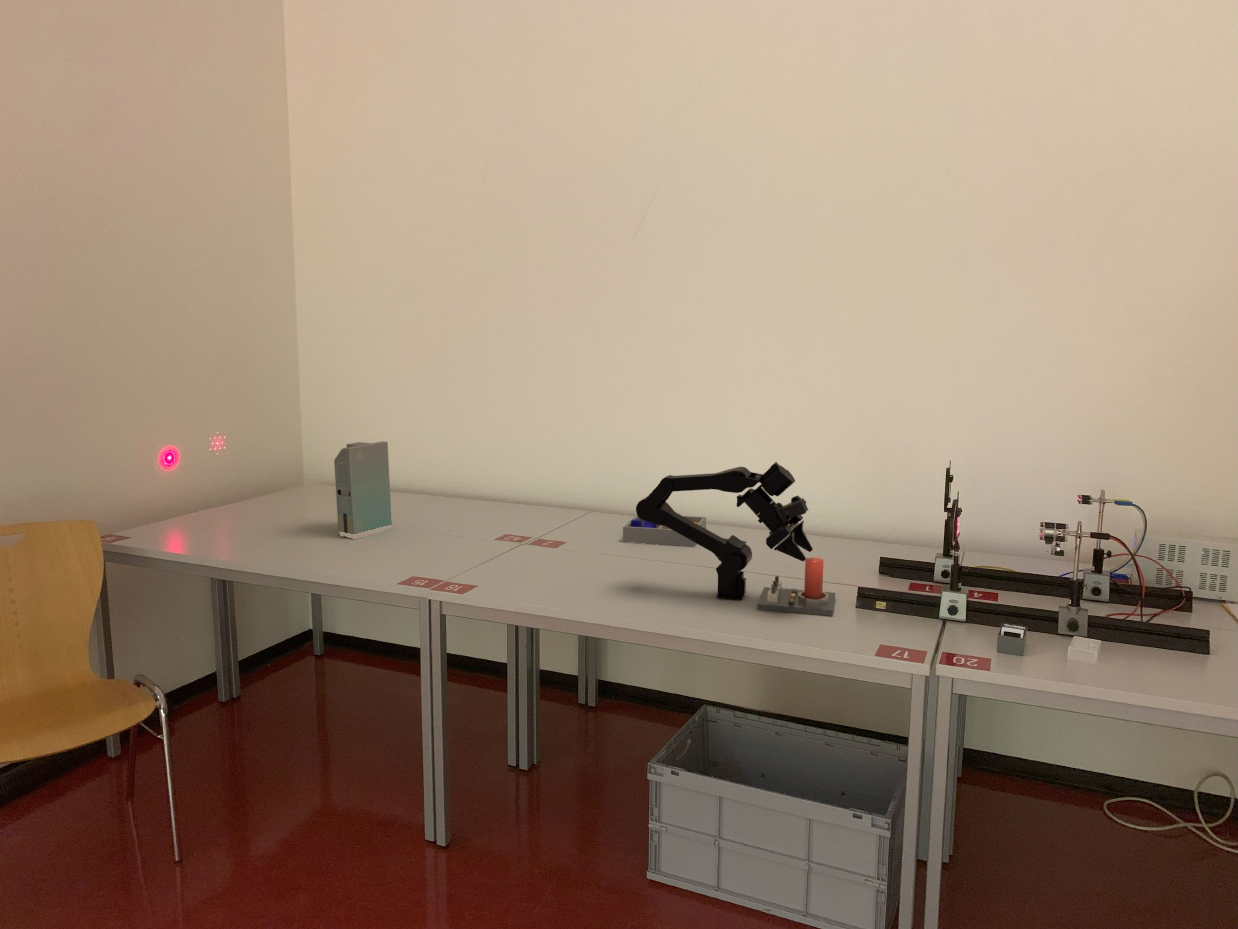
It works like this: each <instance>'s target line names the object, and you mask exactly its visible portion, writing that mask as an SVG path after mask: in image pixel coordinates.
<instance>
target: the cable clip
mask: <svg viewBox="0 0 1238 929" xmlns="http://www.w3.org/2000/svg"><path fill="white" fill-rule="evenodd" d="M632 519H633V518H632ZM632 519H631V520H630V521H631V527H642V521H641V520H634V519H633V520H632ZM643 527H644V528H656V524H652V523H649V522H646V521H645V523H644V526H643Z"/></svg>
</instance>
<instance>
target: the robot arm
mask: <svg viewBox="0 0 1238 929" xmlns="http://www.w3.org/2000/svg"><path fill="white" fill-rule="evenodd" d="M795 482H796V479H795V478H794V475H793V474H792V473H791V472H790V471H789V469H786V468H785V467H783V465H780V464H779V463H778V462H777V461H775V462H774V463H773V464H772V465H771V466H770V467H769V468H768V469H767V470H766V471H765V472H764V473H759V472H753V471H750V470H749V469H748V468H747V467H745V466H737V467H732V468H729V469H725V470H722V471H719V472H713V473H701V474H700V473H699V474H683V475H672V474H669V475H666V476H665V477H663V478H662V479H661V480H660V482H659V483H658V484H657V485H656V487H655V488H654V489H653V490H652V491H651V492H650V493H649V494H648V496H646V497H644V498H642V499H640V500H639V501H638V502H637V504H636V507H635V512H636V516H638V517H639V518H640V519H641V520H643V521H646V522H649V523H652V524H656V525H662V526H666V527H668V528H670V529H671V530H673V531H675V532H677V533H679V534H680V535H682V536H684V537H686V538H688V539H689V540H691V541H693V542H695V543H696V545H697V546H700V547H702V548H704V549H706V550H707V551H709V552H711V553H713V554H714V556H715V557H716V558H717V559H718V560H719V562H720V564H718V566H716V568H715V571H716V573H717V593H716V596H715V598H716V599H720V600H721V599H723V600H736V601H742V599H743V598H744V596H745V595H746V593H747V591H746V590H747V588H746V587H747V578H746V577H744V576H745V571H742V570H744V569H746V567H747V566H748V564H749V563H750V562H751V561H752V559H753V551H752V548H751V547H750V546H749V545H748V544H747V541H744V540H742V539H740V538H738V537H737V536H735V535H733V534H732V535H730V537H729V538H726V537H721V536H720V535H718V534H716V533H714V532H712V531H710V530H708V529H707V528H706V529H705V528H703V527H701V526H700V525H698V524H696V523H694V522H692V521H691V520H689V519H687V518H685V517H683V516H684V515H682V514H680V513H678V512H676V511H675V510H674V509H673V508H672V507H671V505H670V504H669V503H668V502H667V500H668V499H669V498H670V497H671V495H672V493H673V492H688V491H691V492H692V491H704V490H705V491H706V490H716V491H721V492H725V493H726V492H727V493H733V494H738V495H737V496H736V507H737V508H740V507H742V505H743V504H745V505H746V506H747V507H748V508H749V509H750V511H751V512H752V513H754V515H755V516H756V517H757V518H758V520H757V522H758V523H759V524H762V523H763V525H764V526H765V527H766V528H767V529H768V530H769V532H768V534H769V535H768V536H767V537H766V538H765V545H766V546H767V547H768V548H769V549H770V550H774V551H777V552H780V553H782V554H785V555H787V556H790V557H792V558H794V559H797V560H798V561H801V562H805V560H806V559H807V557H806V556H805V554H804V553H803V551H802V550H801V549H800V548H802V549H803V550H805V551H807V552H809V553H811V552H812V551H813V549H814V548H813V547H812V545H811V543H810V541H809V539H808V537H807V535H806V533H805V531H804V523H805V522H804V520H803V519H804V517H803V515H804V514H806V513H807V512H808V511H809V507H808V506H807V501H806V500H805V498H804V497H802V498H801V497H800V496H799V495H796V496H793V497H791V499H790V502H789V503H787V504H784V505H783V504H782V503H781V502H778V501H777V502H776V501H775V500H774V499H773V498H772V497H773V496H775V497H779V496H780V495H783V494H784V492H785V491H786V490H787V489H788V488H790V487H791V486H793V484H795ZM758 483H760V485H759V486H757V487H756V488H755V489H754V487H755V486H756V485H758ZM746 489H747V491H745V490H746ZM744 491H745V492H744ZM743 492H744V493H743ZM739 493H743V494H739Z"/></svg>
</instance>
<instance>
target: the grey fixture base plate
mask: <svg viewBox="0 0 1238 929" xmlns="http://www.w3.org/2000/svg"><path fill="white" fill-rule="evenodd" d="M779 578H780V576H778V575H775V577H774V580H772V581H771V585H770V586H769V587H765V586H764V587H763V589H762V592H761V594H760V597H759V599H758V601H757V604H756V605H757V606H756V611H766V612H778V613H789V614H801V615H802V614H803V615H811V616H813V615H815V616H822V617H823V616H825V617H833V615H834V608H835V603H836V602H835V601H836V592H832V591H831V592H830V591H822V598H821V599H811V598H806V597H804V589H797V588H792V589H791V588H783V581H782V580H780V579H779Z"/></svg>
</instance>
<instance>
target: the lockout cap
mask: <svg viewBox="0 0 1238 929" xmlns="http://www.w3.org/2000/svg"><path fill="white" fill-rule="evenodd" d="M823 583H824V559H823V558H819V557H806V560H805V561H804V586H803V588H804V589H803V590H804V597H806V598H811V599H821V598H822V592H824V591H823V586H824V585H823Z"/></svg>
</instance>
